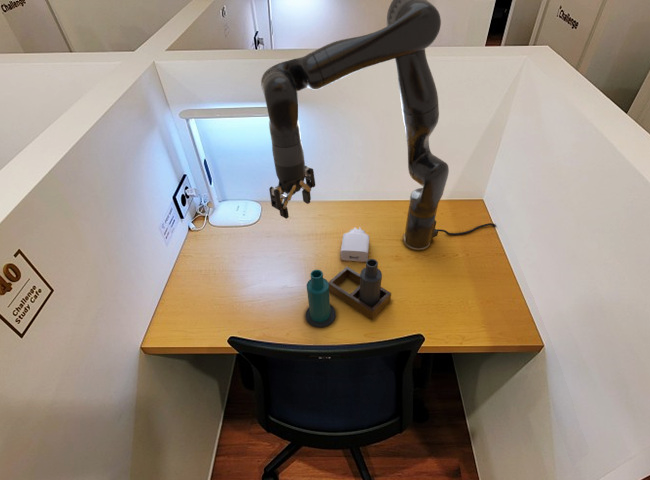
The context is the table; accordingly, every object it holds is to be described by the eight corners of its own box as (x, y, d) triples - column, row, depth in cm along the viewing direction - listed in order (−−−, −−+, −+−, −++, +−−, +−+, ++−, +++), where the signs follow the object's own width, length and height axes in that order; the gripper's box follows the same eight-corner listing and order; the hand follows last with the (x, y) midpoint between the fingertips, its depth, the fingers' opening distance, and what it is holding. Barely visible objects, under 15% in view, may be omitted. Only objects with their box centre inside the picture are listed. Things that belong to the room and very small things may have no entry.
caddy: (346, 274, 120) (346, 266, 118) (390, 301, 112) (391, 293, 110) (328, 291, 116) (327, 282, 113) (372, 320, 108) (372, 312, 105)
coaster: (327, 299, 113) (326, 297, 113) (341, 319, 108) (341, 318, 107) (300, 310, 110) (300, 309, 110) (313, 332, 105) (313, 331, 104)
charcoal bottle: (372, 292, 115) (375, 252, 102) (382, 305, 111) (387, 265, 99) (355, 300, 113) (356, 260, 100) (366, 313, 109) (368, 273, 97)
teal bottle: (324, 303, 112) (321, 262, 99) (333, 316, 108) (332, 277, 95) (306, 310, 110) (301, 270, 97) (315, 325, 106) (311, 285, 93)
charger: (370, 233, 135) (367, 262, 124) (345, 231, 136) (340, 260, 125) (370, 223, 131) (368, 252, 121) (345, 221, 132) (340, 250, 122)
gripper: (278, 175, 86) (287, 228, 97) (319, 150, 93) (323, 202, 105) (257, 164, 89) (268, 216, 101) (298, 141, 96) (304, 193, 108)
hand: (296, 209), depth 103 cm, fingers open, 8 cm apart
